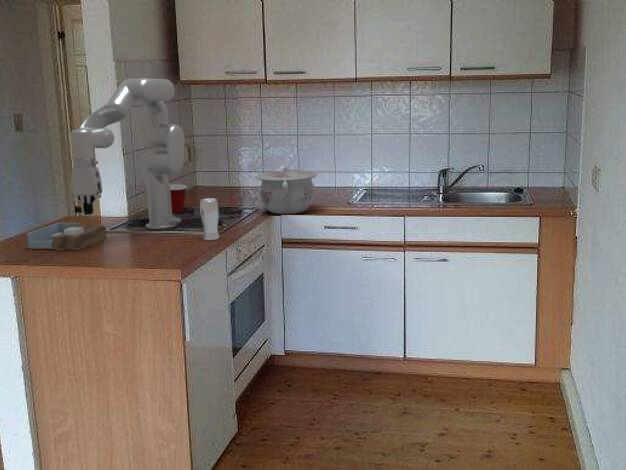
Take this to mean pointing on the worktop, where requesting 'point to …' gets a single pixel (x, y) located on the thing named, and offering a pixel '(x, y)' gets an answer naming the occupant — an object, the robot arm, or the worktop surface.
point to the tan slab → (80, 238)
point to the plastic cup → (177, 197)
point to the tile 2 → (74, 231)
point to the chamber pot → (287, 191)
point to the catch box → (47, 235)
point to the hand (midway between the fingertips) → (88, 214)
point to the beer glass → (209, 218)
